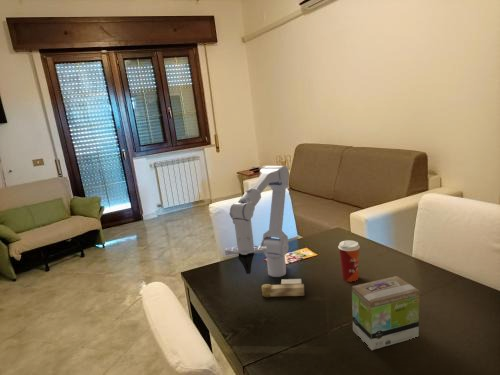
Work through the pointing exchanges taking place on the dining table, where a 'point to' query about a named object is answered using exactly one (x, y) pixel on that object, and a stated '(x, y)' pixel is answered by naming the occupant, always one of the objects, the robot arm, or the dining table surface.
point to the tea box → (385, 312)
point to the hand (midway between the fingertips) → (248, 272)
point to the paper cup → (349, 260)
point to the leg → (283, 290)
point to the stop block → (290, 281)
